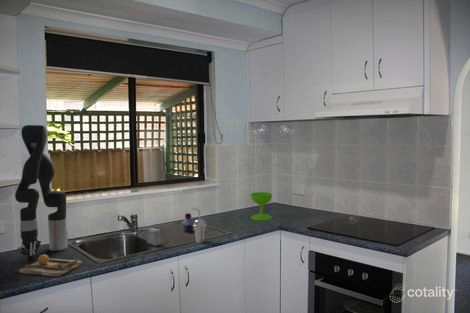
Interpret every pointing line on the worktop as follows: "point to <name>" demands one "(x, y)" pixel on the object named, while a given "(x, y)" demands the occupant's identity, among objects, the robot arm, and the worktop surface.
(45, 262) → the ball
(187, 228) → the potion bottle
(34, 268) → the beige tray
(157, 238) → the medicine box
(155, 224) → the worktop surface
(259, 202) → the wineglass
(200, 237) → the cup with straw
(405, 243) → the worktop surface
